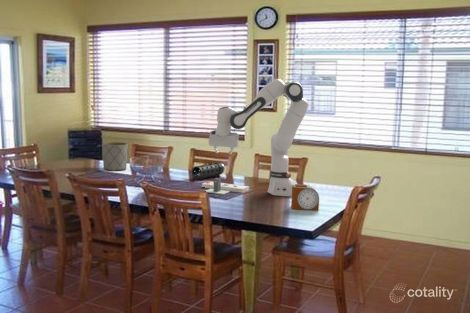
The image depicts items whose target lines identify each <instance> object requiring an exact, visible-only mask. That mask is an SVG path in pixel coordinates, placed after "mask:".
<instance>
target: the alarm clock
mask: <svg viewBox="0 0 470 313" xmlns="http://www.w3.org/2000/svg"><path fill="white" fill-rule="evenodd" d="M290 207H291V209H292V210H297V211H301V210H302V211H319V210H320V195H319V193H318V191H317V190H316V188H314V187H313V186H311V185H309V184H305V183H304V184H301V183H297V184H295V185H292V197H291V202H290Z"/></svg>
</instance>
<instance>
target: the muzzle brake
mask: <svg viewBox="0 0 470 313" xmlns="http://www.w3.org/2000/svg"><path fill="white" fill-rule="evenodd" d="M225 169H226V168H225V165H224V164H223V163H222V162H214V163H209V164H202V165H201V164H200V165H197V166H195V165H194V167H192V169H191V176H192V177H193V179H195V180H197V181H199V180H203V179H208V178H210V177H211V178H214V177H215V178H217V176H221V175H223V174H224V172H225Z"/></svg>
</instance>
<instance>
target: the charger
mask: <svg viewBox="0 0 470 313" xmlns="http://www.w3.org/2000/svg"><path fill="white" fill-rule="evenodd" d="M213 182H214V192H219V191H221V183H222V179H221V178H218V177H215V178H214V179H213Z"/></svg>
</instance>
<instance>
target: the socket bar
mask: <svg viewBox="0 0 470 313" xmlns="http://www.w3.org/2000/svg"><path fill="white" fill-rule="evenodd" d="M202 187H205V188H204V189H214V181H209V180H208V181H205V182H202V183H201V188H202ZM221 190H224V191H230V192H231V193H232V192H234V193H243V194H244V193H245V192H249V191H250V185H249V186H248V185H241V184H232V183H224V182H221Z"/></svg>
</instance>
